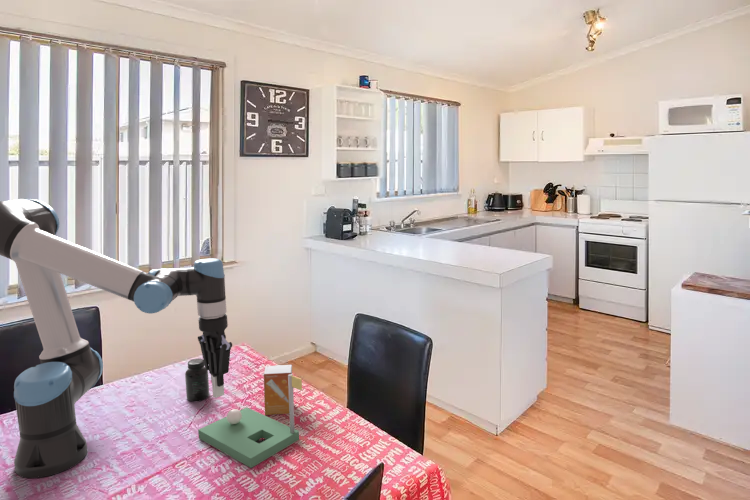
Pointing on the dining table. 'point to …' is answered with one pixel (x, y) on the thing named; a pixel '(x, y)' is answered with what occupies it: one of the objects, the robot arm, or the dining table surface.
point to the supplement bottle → (196, 380)
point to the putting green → (253, 433)
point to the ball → (234, 416)
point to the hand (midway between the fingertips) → (218, 395)
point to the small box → (276, 389)
